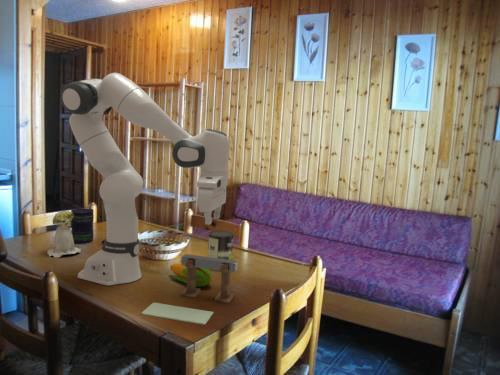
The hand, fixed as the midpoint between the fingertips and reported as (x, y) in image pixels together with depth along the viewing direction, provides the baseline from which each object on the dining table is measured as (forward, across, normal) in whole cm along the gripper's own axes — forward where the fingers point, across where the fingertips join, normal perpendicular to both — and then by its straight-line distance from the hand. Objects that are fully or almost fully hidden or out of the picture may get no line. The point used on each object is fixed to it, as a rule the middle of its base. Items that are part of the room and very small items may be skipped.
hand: (212, 221), depth 135 cm
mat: (+26, +17, -5) cm, 31 cm away
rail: (+16, +1, 0) cm, 16 cm away
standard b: (+26, +1, +6) cm, 26 cm away
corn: (+26, -9, -11) cm, 29 cm away
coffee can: (+26, -29, -5) cm, 39 cm away
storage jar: (+25, -40, -75) cm, 88 cm away
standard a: (+26, +1, -6) cm, 26 cm away
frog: (+26, -22, -71) cm, 79 cm away
